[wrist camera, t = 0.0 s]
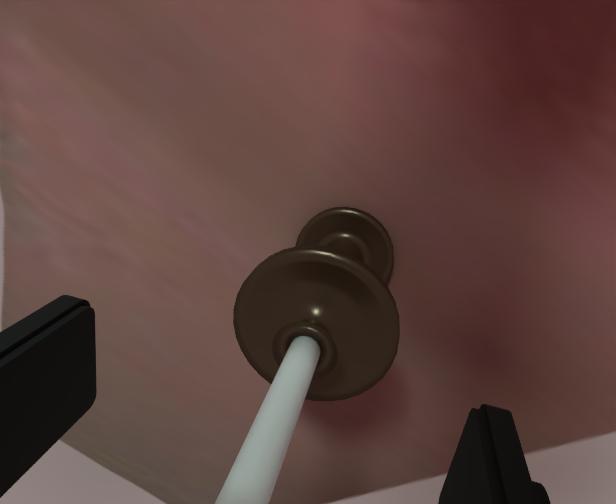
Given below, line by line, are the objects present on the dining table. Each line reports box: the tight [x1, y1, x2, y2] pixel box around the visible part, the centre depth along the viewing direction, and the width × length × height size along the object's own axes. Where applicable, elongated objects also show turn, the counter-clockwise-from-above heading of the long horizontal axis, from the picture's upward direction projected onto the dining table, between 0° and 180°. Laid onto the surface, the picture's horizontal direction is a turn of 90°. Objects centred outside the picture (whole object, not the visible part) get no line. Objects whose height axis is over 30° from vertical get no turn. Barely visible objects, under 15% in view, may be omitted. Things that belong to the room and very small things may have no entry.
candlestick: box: [215, 207, 400, 504], centre depth 27 cm, size 11×11×35 cm
